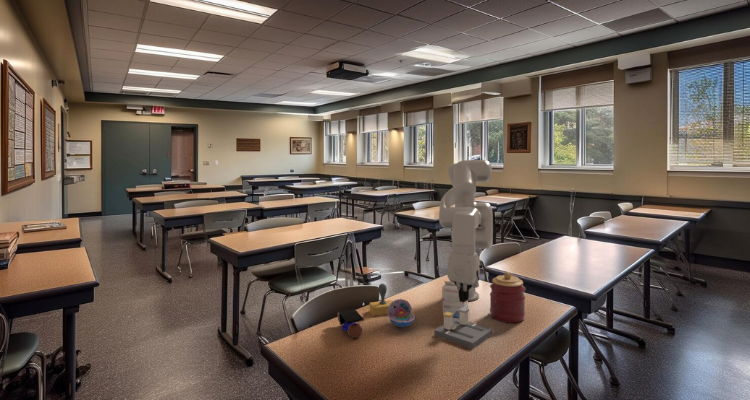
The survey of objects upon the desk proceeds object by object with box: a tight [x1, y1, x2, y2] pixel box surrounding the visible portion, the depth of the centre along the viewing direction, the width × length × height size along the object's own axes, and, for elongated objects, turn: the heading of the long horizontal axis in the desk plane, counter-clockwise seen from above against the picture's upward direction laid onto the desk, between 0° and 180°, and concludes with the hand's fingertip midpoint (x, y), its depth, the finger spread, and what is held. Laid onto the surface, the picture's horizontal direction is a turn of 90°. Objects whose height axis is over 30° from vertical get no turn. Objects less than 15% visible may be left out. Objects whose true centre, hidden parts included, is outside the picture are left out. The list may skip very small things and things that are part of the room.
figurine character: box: [336, 308, 365, 339], centre depth 140 cm, size 7×8×15 cm
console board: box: [434, 317, 494, 350], centre depth 135 cm, size 15×14×2 cm
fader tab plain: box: [459, 307, 470, 325], centre depth 139 cm, size 3×3×5 cm
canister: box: [489, 271, 526, 324], centre depth 150 cm, size 13×13×18 cm
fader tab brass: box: [442, 312, 454, 330], centre depth 135 cm, size 3×3×5 cm
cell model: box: [387, 298, 416, 328], centre depth 144 cm, size 10×12×10 cm
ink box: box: [441, 280, 469, 319], centre depth 154 cm, size 9×8×13 cm
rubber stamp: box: [369, 283, 394, 317], centre depth 157 cm, size 10×6×12 cm, turn 104°
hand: (463, 300), depth 131 cm, fingers closed
